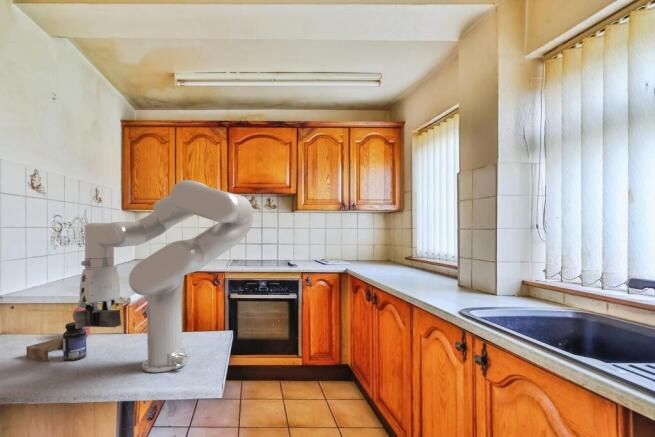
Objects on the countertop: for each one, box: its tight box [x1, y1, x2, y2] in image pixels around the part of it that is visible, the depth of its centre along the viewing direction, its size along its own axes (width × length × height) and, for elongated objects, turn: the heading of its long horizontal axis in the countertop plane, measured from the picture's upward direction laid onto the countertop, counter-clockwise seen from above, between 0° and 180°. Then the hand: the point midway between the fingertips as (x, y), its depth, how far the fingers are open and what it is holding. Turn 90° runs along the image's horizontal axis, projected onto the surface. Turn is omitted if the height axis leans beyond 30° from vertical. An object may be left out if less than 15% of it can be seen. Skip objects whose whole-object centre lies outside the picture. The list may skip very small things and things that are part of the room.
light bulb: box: [72, 306, 91, 337], centre depth 144 cm, size 7×7×12 cm
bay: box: [26, 336, 63, 363], centre depth 125 cm, size 10×12×4 cm
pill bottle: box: [62, 321, 87, 362], centre depth 121 cm, size 6×6×11 cm
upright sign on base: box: [74, 306, 122, 329], centre depth 115 cm, size 14×7×5 cm, turn 64°
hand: (99, 323), depth 115 cm, fingers closed on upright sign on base
